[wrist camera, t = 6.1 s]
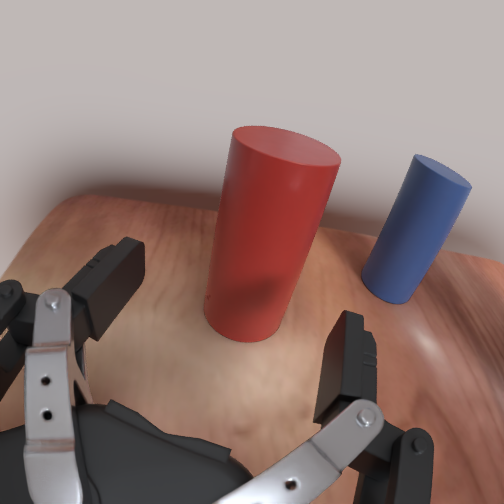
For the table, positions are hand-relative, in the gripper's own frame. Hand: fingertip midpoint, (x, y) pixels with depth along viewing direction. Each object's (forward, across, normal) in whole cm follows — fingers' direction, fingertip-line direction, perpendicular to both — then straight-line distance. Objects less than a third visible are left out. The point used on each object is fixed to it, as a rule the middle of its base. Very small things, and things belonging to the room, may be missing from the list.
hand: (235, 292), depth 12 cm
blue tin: (+13, -11, +6) cm, 18 cm away
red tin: (+5, 0, +6) cm, 8 cm away
